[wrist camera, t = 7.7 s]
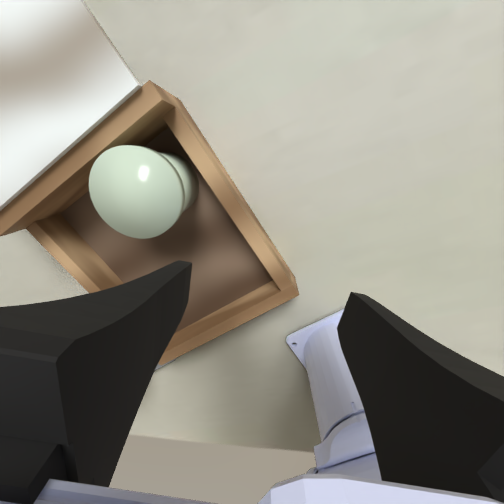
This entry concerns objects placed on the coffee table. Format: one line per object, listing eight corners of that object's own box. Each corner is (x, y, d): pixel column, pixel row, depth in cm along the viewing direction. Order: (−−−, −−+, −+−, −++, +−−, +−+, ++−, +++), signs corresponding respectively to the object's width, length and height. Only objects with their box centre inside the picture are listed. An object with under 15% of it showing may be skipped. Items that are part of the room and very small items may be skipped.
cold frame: (294, 276, 22) (304, 313, 17) (172, 342, 25) (149, 389, 20) (96, -30, 15) (11, -123, 10) (-38, 115, 18) (-153, 101, 13)
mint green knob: (216, 194, 19) (198, 209, 14) (166, 228, 20) (132, 253, 15) (174, 132, 17) (137, 124, 12) (122, 173, 19) (69, 180, 13)
